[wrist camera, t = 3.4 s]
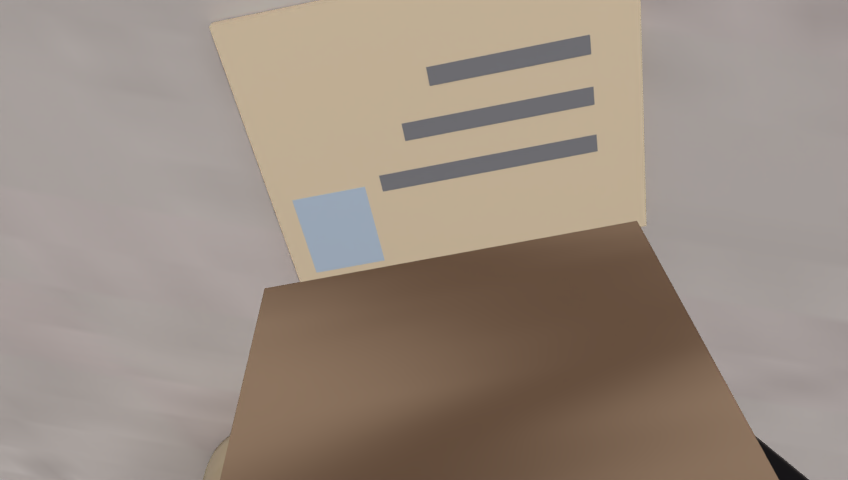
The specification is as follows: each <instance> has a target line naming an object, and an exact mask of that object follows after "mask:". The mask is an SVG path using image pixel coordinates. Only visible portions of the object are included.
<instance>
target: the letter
mask: <svg viewBox="0 0 848 480" xmlns="http://www.w3.org/2000/svg"><path fill="white" fill-rule="evenodd" d="M209 28H210V31H211V34H212V36H213V39H214V42H215V45H216V48H217V50H218V53H219V56H220V59H221V62H222V64H223V67H224V70H225V73H226V76H227V78H228V81H229V84H230V87H231V90H232V92H233V95H234V98H235V101H236V104H237V106H238V109H239V112H240V115H241V118H242V120H243V123H244V126H245V129H246V132H247V135H248V137H249V140H250V143H251V146H252V149H253V151H254V154H255V157H256V160H257V163H258V165H259V168H260V171H261V174H262V177H263V179H264V182H265V185H266V188H267V191H268V193H269V196H270V199H271V202H272V205H273V207H274V210H275V213H276V216H277V219H278V221H279V224H280V227H281V230H282V233H283V235H284V238H285V241H286V244H287V247H288V249H289V252H290V255H291V258H292V261H293V263H294V266H295V269H296V272H297V275H298V277H299V280H300V282H303V281H309V280H314V279H320V278H325V277H331V276H336V275H342V274H347V273H353V272H358V271H364V270H369V269H375V268H380V267H386V266H391V265H397V264H402V263H408V262H413V261H419V260H424V259H430V258H435V257H441V256H446V255H452V254H457V253H463V252H468V251H474V250H479V249H485V248H490V247H496V246H501V245H507V244H512V243H518V242H523V241H529V240H534V239H540V238H545V237H550V236H556V235H561V234H567V233H572V232H578V231H583V230H589V229H594V228H600V227H605V226H611V225H616V224H622V223H627V222H633V221H637V222H638V224H639V225H640V227H643V226H646V192H645V154H644V116H643V78H642V40H641V2H640V0H319V1H314V2H309V3H304V4H300V5H295V6H290V7H285V8H280V9H276V10H271V11H266V12H261V13H256V14H252V15H247V16H242V17H237V18H232V19H228V20H223V21H218V22H213V23H212V24H211V25H210V26H209Z"/></svg>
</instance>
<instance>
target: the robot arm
mask: <svg viewBox="0 0 848 480" xmlns="http://www.w3.org/2000/svg"><path fill="white" fill-rule="evenodd" d="M755 437H756V436H755ZM756 439H757V441H758V442H759V444H760V446H761V448H762V450H763V452H764V453H765V455H766V457H767V459H768V461H769V462H770V464H771V466H772V468H773V470H774V472H775V473H776V475H777V477H778V479H779V480H809V479H807V478H806V477H805V476H804V475H802V474H801V473H800V472H799V471H798V470H796V469H795V468H794V467H793V466H791V465H790V464H789V463H788V462H787V461H785V460H784V459H783V458H782V457H780V456H779V455H778V454H777V453H776V452H774V451H773V450H772V449H771V448H769V447H768V446H767V445H766V444H765V443H763V442H762V441H761V440H760V439H758V438H757V437H756Z"/></svg>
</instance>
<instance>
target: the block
mask: <svg viewBox="0 0 848 480" xmlns="http://www.w3.org/2000/svg"><path fill="white" fill-rule="evenodd" d="M220 480H779V479H778V477H777V475H776V473H775V472H774V470H773V468H772V466H771V464H770V462H769V461H768V459H767V457H766V455H765V453H764V452H763V450H762V448H761V446H760V444H759V442H758V441H757V439H756V437H755V435H754V433H753V431H752V430H751V428H750V426H749V424H748V422H747V421H746V419H745V417H744V415H743V413H742V411H741V410H740V408H739V406H738V404H737V402H736V400H735V399H734V397H733V395H732V393H731V391H730V390H729V388H728V386H727V384H726V382H725V380H724V379H723V377H722V375H721V373H720V371H719V369H718V368H717V366H716V364H715V362H714V360H713V359H712V357H711V355H710V353H709V351H708V349H707V348H706V346H705V344H704V342H703V340H702V339H701V337H700V335H699V333H698V331H697V329H696V328H695V326H694V324H693V322H692V320H691V318H690V317H689V315H688V313H687V311H686V309H685V308H684V306H683V304H682V302H681V300H680V298H679V297H678V295H677V293H676V291H675V289H674V287H673V286H672V284H671V282H670V280H669V278H668V277H667V275H666V273H665V271H664V269H663V267H662V266H661V264H660V262H659V260H658V258H657V256H656V255H655V253H654V251H653V249H652V247H651V246H650V244H649V242H648V240H647V238H646V236H645V235H644V233H643V231H642V229H641V227H640V225H639V224H638V222H637V221H633V222H627V223H622V224H616V225H611V226H605V227H600V228H594V229H589V230H583V231H578V232H572V233H567V234H561V235H556V236H550V237H545V238H540V239H534V240H529V241H523V242H518V243H512V244H507V245H501V246H496V247H490V248H485V249H479V250H474V251H468V252H463V253H457V254H452V255H446V256H441V257H435V258H430V259H424V260H419V261H413V262H408V263H402V264H397V265H391V266H386V267H380V268H375V269H369V270H364V271H358V272H353V273H347V274H342V275H336V276H331V277H325V278H320V279H314V280H309V281H303V282H298V283H292V284H287V285H281V286H276V287H270V288H265V289H264V294H263V298H262V302H261V306H260V311H259V315H258V319H257V323H256V328H255V332H254V336H253V340H252V345H251V349H250V353H249V358H248V362H247V366H246V370H245V375H244V379H243V383H242V387H241V392H240V396H239V400H238V404H237V409H236V413H235V417H234V422H233V426H232V430H231V434H230V439H229V443H228V447H227V451H226V456H225V460H224V464H223V468H222V473H221V477H220Z"/></svg>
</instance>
